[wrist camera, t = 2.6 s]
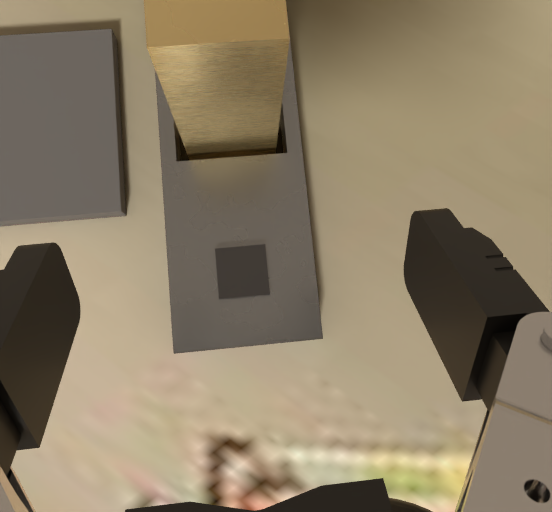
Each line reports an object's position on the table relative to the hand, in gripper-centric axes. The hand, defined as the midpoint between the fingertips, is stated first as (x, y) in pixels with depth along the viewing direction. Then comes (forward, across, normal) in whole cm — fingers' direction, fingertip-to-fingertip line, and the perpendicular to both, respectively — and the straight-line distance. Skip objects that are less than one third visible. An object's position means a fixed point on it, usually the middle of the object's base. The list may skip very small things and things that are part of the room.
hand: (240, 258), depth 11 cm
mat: (+17, +11, +3) cm, 20 cm away
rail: (+17, 0, +3) cm, 17 cm away
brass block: (+17, 0, +3) cm, 17 cm away
